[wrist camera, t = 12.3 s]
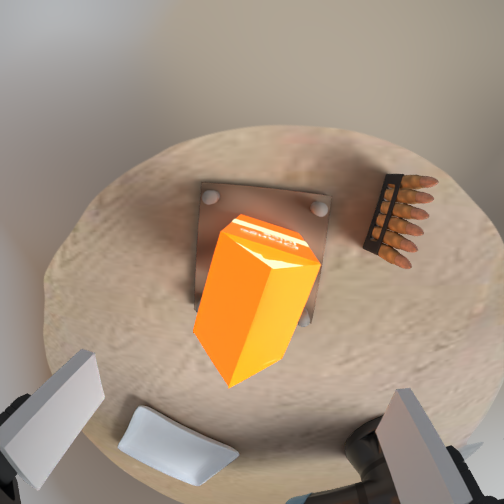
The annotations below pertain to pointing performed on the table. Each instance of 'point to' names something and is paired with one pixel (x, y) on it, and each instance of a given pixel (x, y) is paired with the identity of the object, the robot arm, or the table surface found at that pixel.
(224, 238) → the orange juice
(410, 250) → the ammunition clip
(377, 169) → the table surface
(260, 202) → the peg stand
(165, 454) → the salad plate
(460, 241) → the table surface
